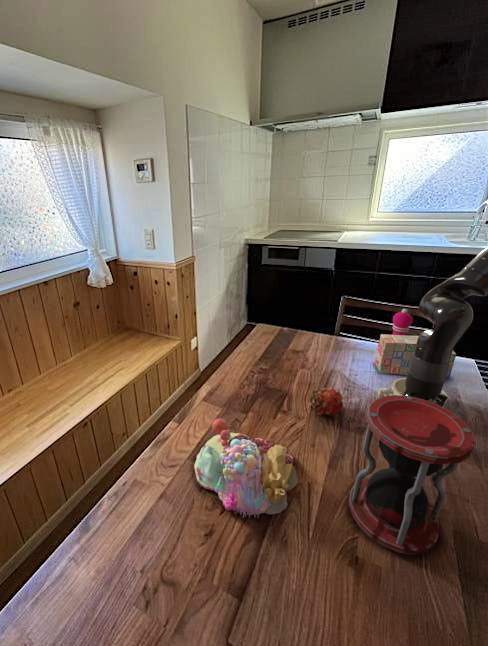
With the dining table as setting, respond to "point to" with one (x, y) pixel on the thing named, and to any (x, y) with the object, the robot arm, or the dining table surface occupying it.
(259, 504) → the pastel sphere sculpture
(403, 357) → the stack of blocks
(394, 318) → the pepper mill
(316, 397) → the dragon fruit
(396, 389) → the mug
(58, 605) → the dining table surface
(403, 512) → the hourglass
